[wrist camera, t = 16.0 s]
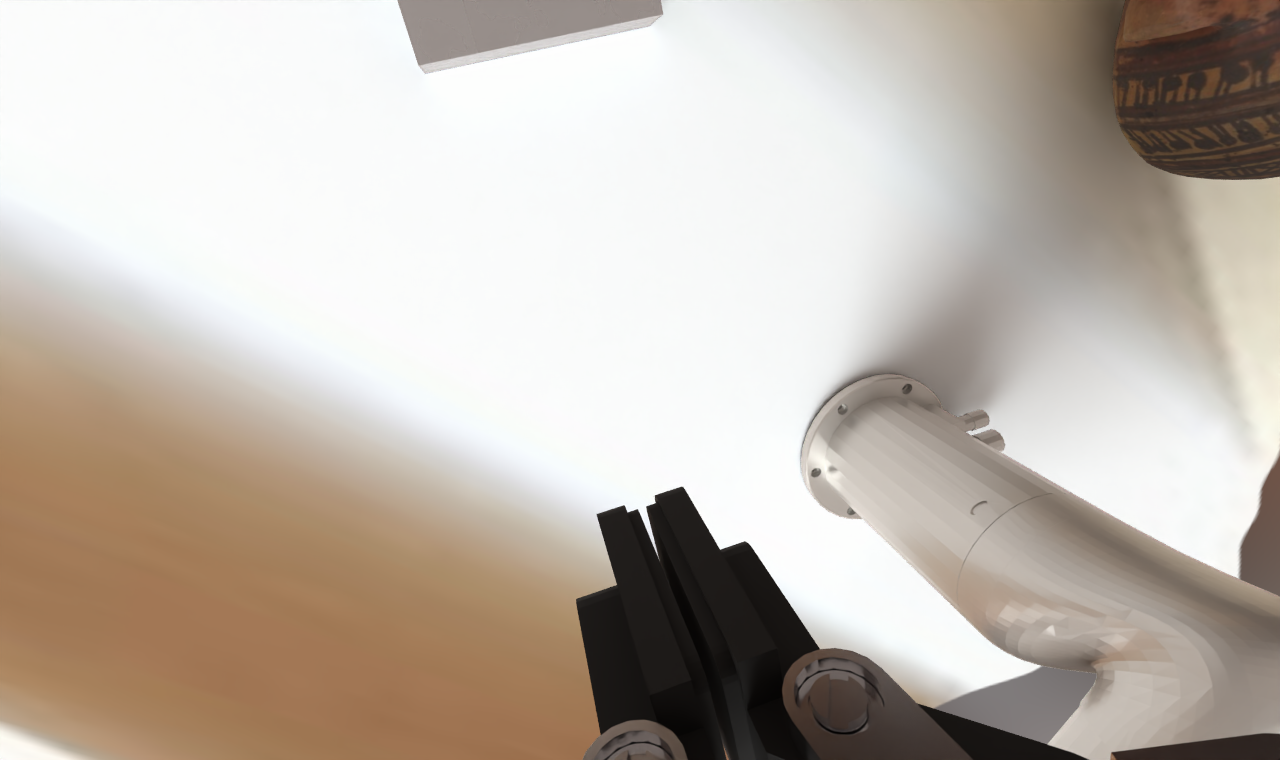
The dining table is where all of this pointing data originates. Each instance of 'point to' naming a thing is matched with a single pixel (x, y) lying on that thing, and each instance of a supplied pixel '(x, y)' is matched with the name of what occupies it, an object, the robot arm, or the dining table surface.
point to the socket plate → (512, 26)
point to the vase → (1201, 86)
